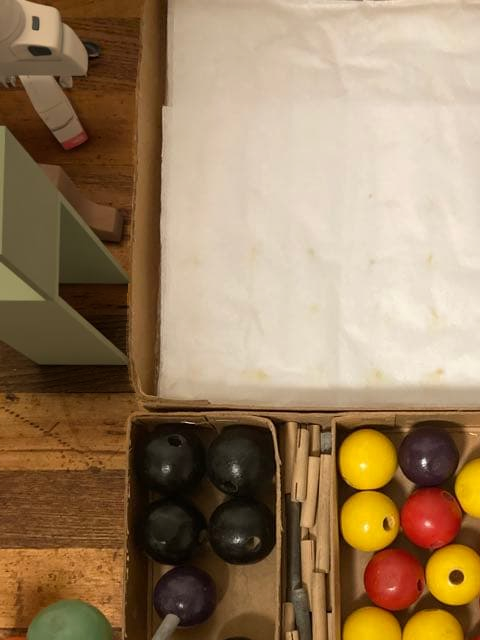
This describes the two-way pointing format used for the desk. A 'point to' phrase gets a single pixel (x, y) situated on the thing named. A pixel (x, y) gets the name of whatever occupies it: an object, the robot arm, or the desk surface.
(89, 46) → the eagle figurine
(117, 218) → the wooden block
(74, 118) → the ink box
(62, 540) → the desk surface
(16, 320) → the shelf
